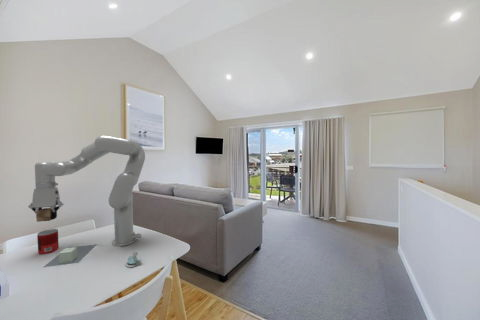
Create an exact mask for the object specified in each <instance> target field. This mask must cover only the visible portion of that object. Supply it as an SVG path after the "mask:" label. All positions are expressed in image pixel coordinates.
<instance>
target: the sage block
mask: <svg viewBox="0 0 480 320" xmlns="http://www.w3.org/2000/svg"><path fill="white" fill-rule="evenodd" d="M72 247H73V248H68V247H66V248H63V249H62V250H61V251H60V252H58V255H59V264H61V263H69V262H72V261H73V260H74V259H76V258H77V247H76V246H72Z"/></svg>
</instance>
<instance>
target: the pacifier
mask: <svg viewBox="0 0 480 320" xmlns="http://www.w3.org/2000/svg"><path fill="white" fill-rule="evenodd" d="M138 252H139V251H138V250H136V249H134V250H133V251H132V255H131V256H129V257H128V258H127V260H126V261H127V262H125V264H124V265H125V267H127V268H134V267H136V266H137V265H138V264H139V262H141V261H142V259H139V258H138V257H137V256H138Z"/></svg>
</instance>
